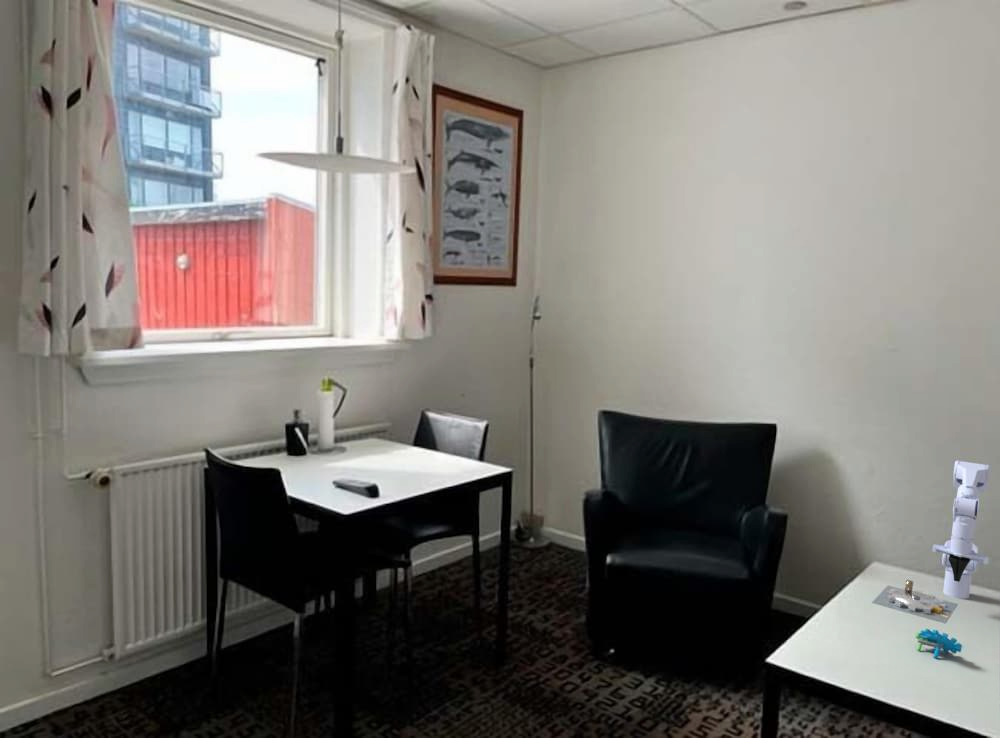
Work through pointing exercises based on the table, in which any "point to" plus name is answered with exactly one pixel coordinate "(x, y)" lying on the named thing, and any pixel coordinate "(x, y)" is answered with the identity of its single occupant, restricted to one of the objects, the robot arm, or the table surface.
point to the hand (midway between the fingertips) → (957, 580)
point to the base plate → (939, 617)
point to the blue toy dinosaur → (937, 642)
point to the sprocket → (915, 599)
